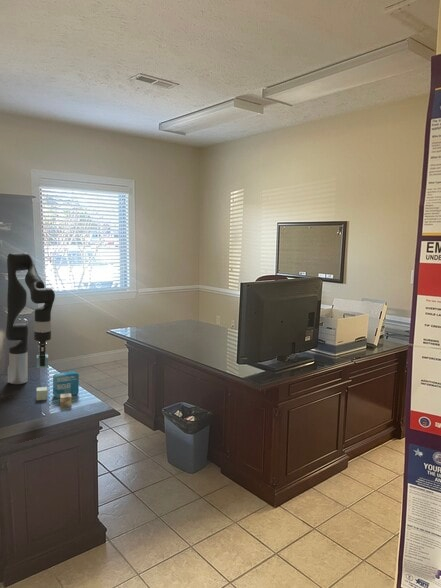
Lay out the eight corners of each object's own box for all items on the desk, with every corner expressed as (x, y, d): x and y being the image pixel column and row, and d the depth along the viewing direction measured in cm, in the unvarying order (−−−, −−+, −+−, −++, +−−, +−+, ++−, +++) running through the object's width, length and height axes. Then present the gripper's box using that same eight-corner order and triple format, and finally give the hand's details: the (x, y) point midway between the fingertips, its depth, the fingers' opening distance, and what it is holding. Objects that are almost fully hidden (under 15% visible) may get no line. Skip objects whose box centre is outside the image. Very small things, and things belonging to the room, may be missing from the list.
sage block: (36, 400, 216) (36, 391, 215) (36, 396, 221) (36, 387, 220) (47, 399, 218) (47, 390, 217) (47, 396, 223) (47, 386, 222)
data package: (55, 398, 219) (55, 376, 218) (52, 396, 223) (52, 373, 221) (78, 394, 227) (78, 373, 225) (75, 392, 230) (76, 370, 229)
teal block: (36, 368, 203) (36, 357, 203) (36, 364, 208) (37, 354, 207) (48, 367, 205) (48, 357, 205) (48, 364, 210) (48, 354, 209)
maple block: (60, 407, 210) (60, 397, 209) (60, 403, 214) (60, 394, 213) (71, 406, 211) (71, 396, 211) (70, 402, 216) (70, 393, 215)
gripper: (34, 326, 209) (34, 360, 212) (33, 333, 196) (33, 369, 198) (51, 326, 212) (50, 359, 214) (51, 333, 199) (50, 368, 201)
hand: (42, 364), depth 206 cm, fingers closed on teal block, 5 cm apart
